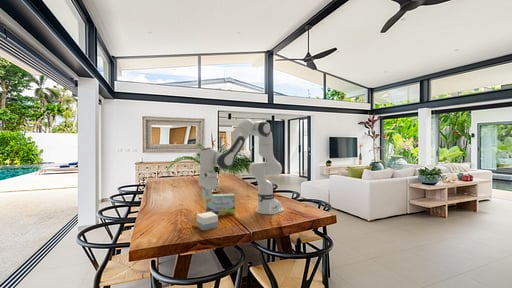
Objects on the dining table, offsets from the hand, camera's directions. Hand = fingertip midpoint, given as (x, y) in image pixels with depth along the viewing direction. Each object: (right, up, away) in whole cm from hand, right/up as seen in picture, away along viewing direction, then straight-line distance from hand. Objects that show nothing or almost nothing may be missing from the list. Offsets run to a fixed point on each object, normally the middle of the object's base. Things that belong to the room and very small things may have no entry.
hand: (206, 194), depth 153 cm
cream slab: (0, -17, 0) cm, 17 cm away
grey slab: (0, -21, 0) cm, 21 cm away
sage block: (0, -3, 0) cm, 3 cm away
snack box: (+5, -21, +26) cm, 34 cm away
